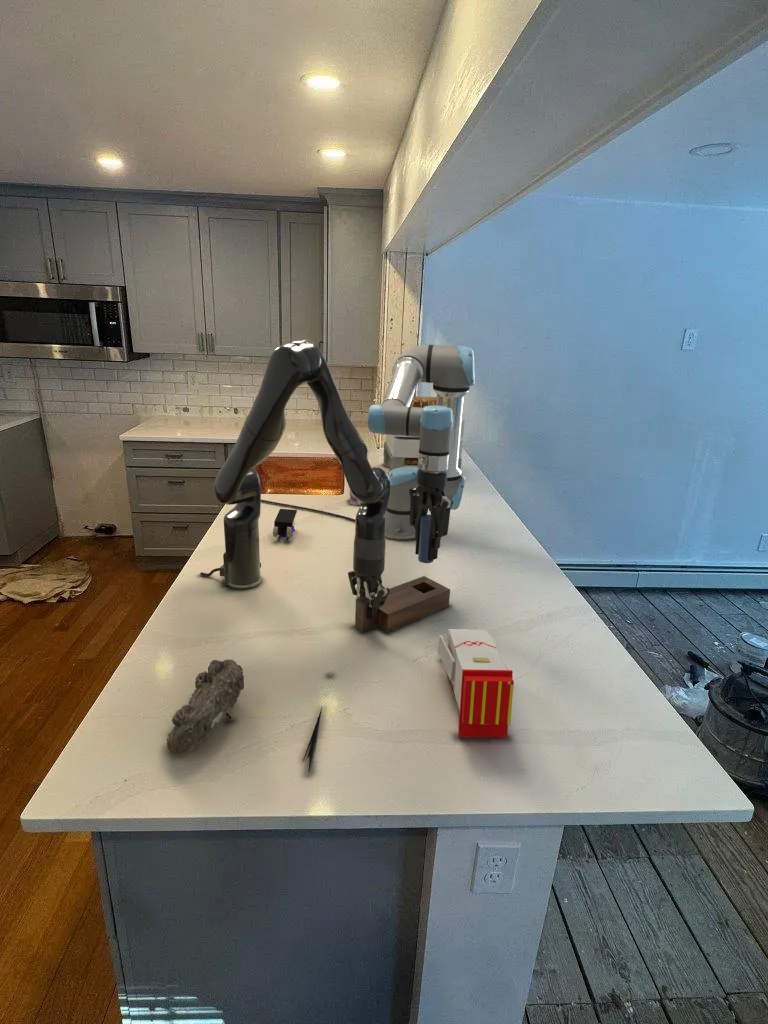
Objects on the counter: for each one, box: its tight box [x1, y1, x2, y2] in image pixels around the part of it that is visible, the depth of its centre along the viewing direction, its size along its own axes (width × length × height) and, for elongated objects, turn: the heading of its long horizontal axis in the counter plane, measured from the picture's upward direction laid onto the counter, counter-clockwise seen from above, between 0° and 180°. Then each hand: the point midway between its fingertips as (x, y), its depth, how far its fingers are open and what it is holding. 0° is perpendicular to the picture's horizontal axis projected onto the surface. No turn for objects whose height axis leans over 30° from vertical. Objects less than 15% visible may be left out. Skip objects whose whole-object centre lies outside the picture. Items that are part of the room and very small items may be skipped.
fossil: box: [166, 658, 245, 754], centre depth 106 cm, size 22×10×15 cm
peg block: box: [354, 575, 451, 633], centre depth 146 cm, size 10×27×8 cm, turn 131°
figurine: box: [348, 489, 361, 506], centre depth 228 cm, size 9×10×15 cm
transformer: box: [383, 395, 465, 472], centre depth 268 cm, size 34×33×41 cm
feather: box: [301, 673, 332, 771], centre depth 108 cm, size 2×28×2 cm
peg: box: [417, 513, 434, 564], centre depth 146 cm, size 4×4×12 cm
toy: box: [437, 628, 515, 738], centre depth 117 cm, size 12×13×30 cm
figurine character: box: [272, 508, 298, 542], centre depth 192 cm, size 7×8×15 cm
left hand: (367, 615), depth 140 cm, fingers closed on peg block, 3 cm apart
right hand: (426, 556), depth 148 cm, fingers closed on peg, 4 cm apart
